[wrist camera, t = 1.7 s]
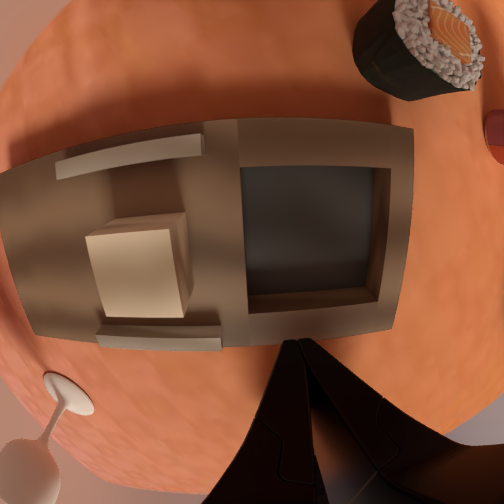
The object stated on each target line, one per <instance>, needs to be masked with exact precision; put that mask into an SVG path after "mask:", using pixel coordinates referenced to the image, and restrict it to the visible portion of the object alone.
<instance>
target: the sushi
mask: <svg viewBox="0 0 504 504" xmlns="http://www.w3.org/2000/svg"><path fill="white" fill-rule="evenodd" d="M453 4H454V3H453V2H452V1H450V0H449V1H447V0H378V1H377V2H376V3H375V4H374V5H373V6H372V8H371V9H370V10H369V11H368V12H367V13H366V14H365V15H364V16H363V17H362V18H361V20H360V21H359V22H358V24H357V27H356V30H355V35H354V43H353V50H352V52H353V57H354V62H355V64H356V66H357V67H358V69H359V71H360V73H361V74H362V75H363V77H364V78H365V79H366V80H367V81H368V82H369V83H371V84H372V85H373V86H375V87H376V88H378V89H381V90H383V91H385V92H387V93H389V94H391V95H393V96H395V97H397V98H399V99H402V100H406V101H414V100H419V99H423V98H427V97H431V96H436V95H440V94H446V93H452V92H459V91H467V90H471V91H475V88H474V86H475V85H476V82H477V80H478V79H480V78H481V69H482V68H483V64H482V62H481V61H484V60H485V57H483V56H482V55H480V49H481V48H482V44H481V43H480V39H479V38H477V35H476V34H475V26H474V25H471V24H472V22H473V21H472V20H471V19H468V17H467V16H465V15H463V14H462V13H461V9H460V7H459V6H455V8H453V7H452V6H453ZM470 25H471V26H470Z"/></svg>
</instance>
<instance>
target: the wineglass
mask: <svg viewBox="0 0 504 504" xmlns="http://www.w3.org/2000/svg"><path fill="white" fill-rule="evenodd" d="M43 381H44V385H45V387H46V389H47V391H48V392H49V393H50V395H51V396H52V397H53V398H54V399H55V400H56V401H57V402H58V404H57V406H56V409H55V411H54V413H53V415H52V418H51V420H50V422H49V424H48V425H47V427H46V429H45V431H44V432H43V434H42V435H41V437H40V438H39V439H37V440H27V439H16V440H13V441H10V442H9V443H7V444H6V445H5V446H4V448H3V449H2V451H1V452H0V498H1V499H3V500H4V501H5V502H7V503H8V504H55V502H56V499H57V496H58V494H59V490H60V484H61V476H60V472H59V469H58V466H57V464H56V462H55V460H54V458H53V457H52V455H51V454H50V452H49V449H48V442H49V439H50V436H51V434H52V432H53V429H54V427H55V426H56V424H57V422H58V420H59V418H60V417H61V415H62V414H63V412H64V411H65V410H66V409H68V410H69V411H71V412H74V413H76V414H80V415H90V414H92V413H93V412H94V405H93V403H92V401H91V400H90V398H89V397H88V396H87V395H86V393H85V392H84V391H83V390H82V389H80V388H79V387H78V386H77V385H76V384H74V383H73V382H71V381H70V380H68V379H67V378H65V377H63V376H61V375H59V374H55V373H46V374H45V375H44V377H43Z"/></svg>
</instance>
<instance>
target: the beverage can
mask: <svg viewBox="0 0 504 504" xmlns="http://www.w3.org/2000/svg"><path fill="white" fill-rule="evenodd" d="M484 134H485V140H486V144H487V147H488V150H489V152H490V153H491V155H492V156H493V158H494V159H495V160H496V161H497V162H499V163H500V164H503V165H504V109H498V110H492V111H491V112H490V113H489V114H488V116H487V117H486V120H485V125H484Z"/></svg>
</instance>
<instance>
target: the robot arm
mask: <svg viewBox="0 0 504 504" xmlns="http://www.w3.org/2000/svg"><path fill="white" fill-rule="evenodd" d="M382 398H383V396H382V395H380V394H379V393H378V392H376V391H375V390H374V389H373V388H371V387H370V386H369V385H368V384H366V383H365V382H364V381H363V380H361V379H360V378H359V377H358V376H356V375H355V374H354V373H353V372H351V371H350V370H349V369H348V368H347V367H345V366H344V365H343V364H342V363H340V362H339V361H338V360H337V359H335V358H334V357H333V356H332V355H331V354H329V353H328V352H327V351H326V350H325V349H323V348H322V347H321V346H320V345H318V344H317V343H316V342H315V341H314V340H312V339H311V338H300V339H297V340H295V339H289V340H283V342H282V344H281V347H280V350H279V353H278V356H277V359H276V361H275V364H274V367H273V370H272V372H271V375H270V378H269V381H268V383H267V386H266V389H265V391H264V394H263V397H262V399H261V402H260V404H259V407H258V410H257V412H256V415H255V418H254V419H253V422H252V424H251V427H250V429H249V431H248V433H247V435H246V438H245V440H244V442H243V444H242V446H241V447H240V449H239V451H238V452H237V454H236V456H235V457H234V459H233V461H232V462H231V464H230V465H229V467H228V468H227V469H226V471H225V472H224V474H223V475H222V477H221V478H220V480H219V481H218V482H217V484H216V485H215V487H214V488H213V489H212V491H211V492H210V493H209V495H208V496H207V497H206V498H205V500H204V501H203V502H202V503H201V504H504V444H496V445H483V446H469V445H464V444H460V443H457V442H455V441H452V440H450V439H449V438H447V437H445V436H443V435H441V434H440V433H438V432H436V431H434V430H432V429H431V428H429V427H427V426H425V425H424V424H422V423H420V422H418V421H417V420H415V419H414V418H412V417H410V416H409V415H407V414H406V413H404V412H403V411H402V410H400V409H399V408H397V407H396V406H395V405H393V404H392V403H391V402H389V401H388V400H387V399H386V398H383V399H382Z"/></svg>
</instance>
